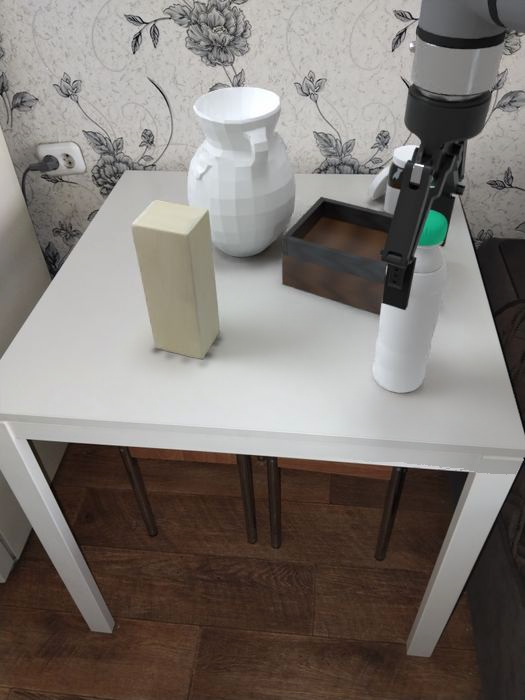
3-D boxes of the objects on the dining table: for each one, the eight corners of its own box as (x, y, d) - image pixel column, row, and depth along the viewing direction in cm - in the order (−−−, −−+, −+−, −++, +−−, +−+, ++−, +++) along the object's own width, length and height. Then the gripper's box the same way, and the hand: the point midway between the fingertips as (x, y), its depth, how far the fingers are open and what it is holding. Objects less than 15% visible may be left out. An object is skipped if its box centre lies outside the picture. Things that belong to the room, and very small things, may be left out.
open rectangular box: (416, 268, 99) (424, 222, 93) (385, 317, 90) (392, 269, 84) (319, 241, 106) (321, 196, 99) (282, 284, 97) (281, 237, 91)
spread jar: (421, 228, 108) (432, 169, 100) (360, 220, 110) (365, 161, 102) (429, 196, 116) (439, 139, 108) (371, 189, 119) (377, 132, 110)
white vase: (314, 253, 103) (319, 110, 86) (217, 283, 98) (201, 137, 80) (268, 205, 115) (264, 71, 98) (179, 229, 110) (158, 92, 93)
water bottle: (363, 365, 83) (382, 207, 66) (408, 353, 84) (439, 196, 67) (385, 400, 78) (412, 240, 61) (433, 387, 79) (473, 227, 62)
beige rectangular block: (223, 328, 90) (211, 205, 75) (204, 360, 85) (186, 235, 70) (176, 317, 92) (155, 196, 77) (154, 348, 87) (127, 225, 72)
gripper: (450, 40, 63) (419, 213, 78) (359, 130, 48) (342, 324, 63) (522, 50, 61) (476, 227, 75) (450, 149, 45) (409, 347, 60)
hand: (415, 272), depth 69 cm, fingers open, 13 cm apart
